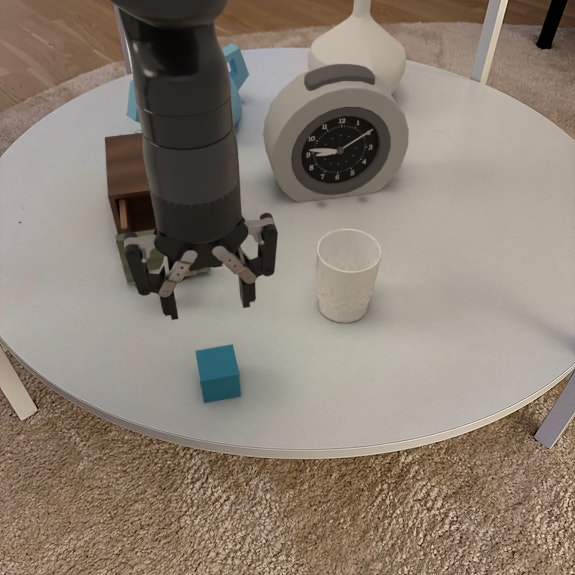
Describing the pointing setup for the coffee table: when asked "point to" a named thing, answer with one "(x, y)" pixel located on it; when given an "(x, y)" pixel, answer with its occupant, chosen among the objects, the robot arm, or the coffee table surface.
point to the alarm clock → (334, 134)
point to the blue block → (218, 373)
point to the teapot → (236, 80)
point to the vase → (361, 47)
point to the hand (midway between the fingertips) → (210, 307)
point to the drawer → (141, 232)
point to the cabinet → (124, 171)
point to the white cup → (346, 273)
